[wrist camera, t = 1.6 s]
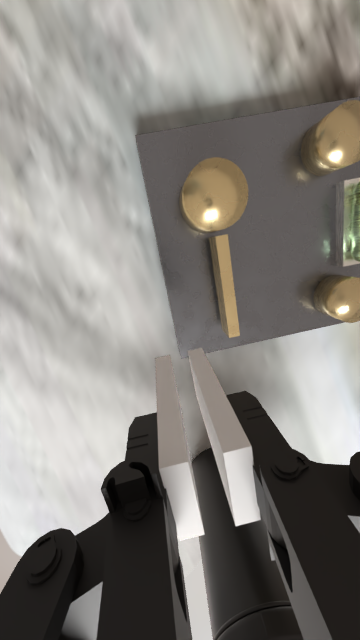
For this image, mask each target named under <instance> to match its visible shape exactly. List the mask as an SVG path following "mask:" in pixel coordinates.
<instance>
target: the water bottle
mask: <svg viewBox="0 0 360 640" xmlns="http://www.w3.org/2000/svg"><path fill="white" fill-rule="evenodd" d="M192 469H193V474H194V479H195V485H196V490H197V496H198V501H199V506H200V512H201V517H202V523H203V528H204V533H205V535H201V536H199V542H200V549H201V556H202V563H203V570H204V578H205V585H206V593H207V600H208V607H209V614H210V621H211V629H212V636H213V640H304V639H303V636H302V633H301V631H300V628H299V625H298V622H297V619H296V616H295V614H294V611H293V608H292V605H291V602H290V599H289V597H288V594H287V591H286V588H285V585H284V583H283V580H282V577H281V574H280V571H279V568H278V566H277V563H276V560H273V561H271V556H270V550H269V542H268V533H267V526H266V524H265V521H264V519H263V516H262V514H261V512H260V518H261V520H258V521H254V522H251V523H247V524H243V525H239V526H235V523H234V519H233V516H232V513H231V509H230V506H229V503H228V499H227V496H226V493H225V489H224V486H223V483H222V480H221V476H220V473H219V470H218V466H217V463H216V460H215V456H214V453H213V450H212V448H210V449H207V450H205V451H203V452H202V453H200V454H199V455H198V456H197V457H196V458H195V459H194V461H193V462H192ZM259 510H260V509H259Z"/></svg>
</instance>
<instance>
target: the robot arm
mask: <svg viewBox="0 0 360 640" xmlns="http://www.w3.org/2000/svg"><path fill="white" fill-rule="evenodd" d="M188 356H189V361H190V366H191V371H192V377H193V382H194V387H195V392H196V397H197V400H198V403H199V407H200V410H201V413H202V417H203V420H204V423H205V427H206V430H207V433H208V436H209V440H210V443H211V446H212V450H213V453H214V456H215V460H216V463H217V466H218V470H219V473H220V476H221V480H222V483H223V486H224V489H225V493H226V496H227V499H228V503H229V506H230V509H231V513H232V516H233V519H234V523H235V526H239V525H243V524H247V523H251V522H254V521H258V520H261V518H260V512H261V514H262V516H263V519H264V521H265V524H266V526H267V533H268V542H269V550H270V556H271V561H273V560H276V563H277V566H278V568H279V571H280V574H281V577H282V580H283V583H284V585H285V588H286V591H287V594H288V597H289V599H290V602H291V605H292V608H293V611H294V614H295V616H296V619H297V622H298V625H299V628H300V631H301V633H302V636H303V639H304V640H360V452H356V453H355V454H354V455H353V456H352V457H351V459H350V465H335V464H323V463H316V462H313V461H310V460H309V459H308V458H307V457H306V456H305V455H303V454H302V453H300V452H298V451H296V450H294V449H292V448H291V447H290V446H289V444H288V443H287V441H286V440H285V438H284V437H283V436H282V434H281V433H280V431H279V430H278V428H277V427H276V426H275V424H274V423H273V421H272V420H271V418H270V417H269V416H268V415H267V413H266V411H265V410H264V408H262V406H261V404H260V403H259V401H258V400H257V398H256V397H254V396H253V395H251V394H250V393H248V392H246V391H243V392H239V393H234V394H230V395H225V393H224V391H223V389H222V387H221V385H220V383H219V381H218V379H217V377H216V375H215V373H214V371H213V369H212V367H211V365H210V363H209V361H208V359H207V357H206V355H205V353H204V351H203V349H202V348H199V349H194V350H190V351H188ZM155 364H156V395H157V413H152V414H148V415H144V416H139V417H135V419H134V421H133V422H132V424H131V426H130V427H129V433H128V441H127V451H126V457H125V461H123V462H121V463H119V464H118V465H117V466H116V467H114V468H113V469H112V470H111V471H110V472H109V474H108V475H107V476H106V478H105V479H104V482H103V484H102V487H101V491H102V494H103V496H104V499H105V502H106V504H107V507H108V509H109V513H108V514H107V515H106V516H105V517H104V518H103V519H101V520H100V521H99V522H97V523H96V524H94V525H92V526H91V527H89V528H87V529H86V530H84V531H82V532H81V533H79V534H77V535H76V536H74V534H73V533H72V532H71V531H70V530H67V529H63V528H60V529H57V530H53V531H50V532H48V533H47V534H45V535H43V536H42V537H40V538H39V539H38V540H37V541H36V542H34V543H33V544H32V545H31V546H30V547H29V548H28V549H27V551H26V552H25V553H24V555H23V556H22V558H21V559H20V561H19V562H18V564H17V565H16V567H15V569H14V571H13V572H12V574H11V576H10V578H9V580H8V581H7V583H6V585H5V587H4V589H3V590H2V592H1V594H0V640H192V635H191V627H190V620H189V612H188V605H187V598H186V590H185V583H184V575H183V568H182V563H181V560H180V556H179V551H178V540H179V541H182V540H186V539H189V538H193V537H197V536H201V535H205V533H204V528H203V523H202V517H201V512H200V506H199V501H198V496H197V490H196V485H195V479H194V474H193V469H192V463H191V458H190V452H189V447H188V442H187V436H186V431H185V425H184V420H183V415H182V409H181V404H180V399H179V394H178V390H177V385H176V380H175V376H174V371H173V367H172V362H171V358H170V355H167V356H162V357H158V358H155ZM259 509H260V510H259ZM177 536H178V540H177Z"/></svg>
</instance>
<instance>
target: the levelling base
mask: <svg viewBox="0 0 360 640" xmlns="http://www.w3.org/2000/svg"><path fill="white" fill-rule="evenodd" d="M135 136H136V143H137V148H138V153H139V158H140V163H141V168H142V172H143V177H144V182H145V187H146V192H147V197H148V202H149V206H150V211H151V216H152V221H153V226H154V231H155V236H156V240H157V245H158V250H159V255H160V260H161V265H162V270H163V274H164V279H165V284H166V289H167V294H168V299H169V304H170V308H171V313H172V318H173V323H174V328H175V333H176V337H177V342H178V347H179V352H180V356H181V359H182V358H186V357H189V356H188V351H190V350H194V349H199V348H202V349H203V351H204V353H209V352H213V351H218V350H222V349H227V348H231V347H236V346H240V345H245V344H249V343H254V342H258V341H263V340H267V339H272V338H276V337H281V336H285V335H290V334H294V333H299V332H303V331H308V330H312V329H317V328H321V327H326V326H330V325H335V324H339V323H344V322H349V323H353V322H357V321H360V97H356V98H350V99H344V100H338V101H332V102H326V103H321V104H315V105H309V106H303V107H297V108H292V109H286V110H280V111H274V112H268V113H262V114H257V115H251V116H245V117H239V118H233V119H228V120H222V121H216V122H210V123H204V124H198V125H193V126H187V127H181V128H175V129H169V130H164V131H158V132H152V133H146V134H140V135H135ZM214 157H220V158H225V159H228V160H230V161H232V162H233V163H234V164H236V165H237V166H238V167H239V168H240V169H241V171H242V172H243V174H244V176H245V178H246V181H247V185H248V201H247V205H246V208H245V210H244V212H243V214H242V216H241V217H240V218H239V220H238V221H237V222H236V223H234V224H233V225H231V226H230V227H228V228H225V229H222V230H218V231H215V232H210V233H204V232H199V231H197V230H195V229H193V228H192V227H190V226H189V225H188V224H187V223H186V221H185V220H184V218H183V216H182V214H181V211H180V206H179V198H180V193H181V190H182V187H183V185H184V183H185V181H186V179H187V177H188V175H189V173H190V172H191V171H192V169H193V168H194V167H195V166H196V165H197V164H199V163H200V162H202V161H203V160H206V159H209V158H214ZM226 234H228V241H229V249H230V257H231V266H232V274H233V282H234V290H235V298H236V307H237V315H238V323H239V331H240V336H236V337H232V338H229V337H228V336H227V335H226V334H225V332H224V331H223V330H222V325H221V318H220V312H219V305H218V298H217V291H216V284H215V277H214V270H213V263H212V256H211V249H210V242H209V238H210V237H215V236H221V235H226Z"/></svg>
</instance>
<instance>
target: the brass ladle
mask: <svg viewBox="0 0 360 640" xmlns="http://www.w3.org/2000/svg"><path fill="white" fill-rule="evenodd" d="M247 201H248V185H247V181H246V178H245V176H244V174H243V172H242V171H241V169H240V168H239V167H238V166H237V165H236V164H234V163H233V162H232V161H230V160H228V159H225V158H220V157H214V158H209V159H206V160H203V161H202V162H200V163H199V164H197V165H196V166H195V167H194V168H193V169H192V171H191V172H190V173H189V175H188V177H187V179H186V181H185V183H184V185H183V187H182V190H181V193H180V198H179V206H180V211H181V214H182V216H183V218H184V220H185V221H186V223H187V224H188V225H189V226H190V227H192V228H193V229H195V230H197V231H199V232H204V233H210V232H215V231H218V230H222V229H225V228H228V227H230V226H231V225H233V224H234V223H236V222H237V221H238V220H239V218H240V217H241V216H242V214H243V212H244V210H245V208H246V205H247ZM209 242H210V249H211V256H212V263H213V270H214V277H215V284H216V291H217V298H218V305H219V312H220V318H221V325H222V330H223V331H224V332H225V334H226V335H227V336H228V337H229V338H232V337H236V336H240V331H239V323H238V315H237V307H236V298H235V290H234V282H233V274H232V266H231V257H230V249H229V241H228V234H226V235H221V236H215V237H210V238H209Z"/></svg>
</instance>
